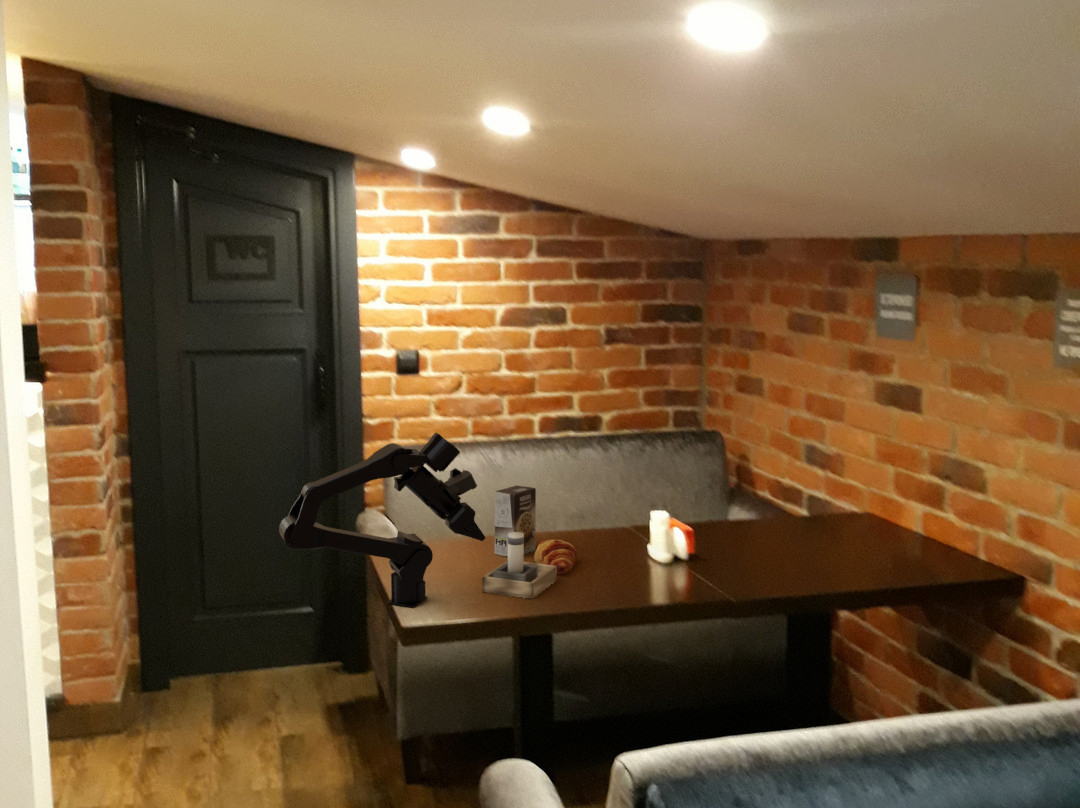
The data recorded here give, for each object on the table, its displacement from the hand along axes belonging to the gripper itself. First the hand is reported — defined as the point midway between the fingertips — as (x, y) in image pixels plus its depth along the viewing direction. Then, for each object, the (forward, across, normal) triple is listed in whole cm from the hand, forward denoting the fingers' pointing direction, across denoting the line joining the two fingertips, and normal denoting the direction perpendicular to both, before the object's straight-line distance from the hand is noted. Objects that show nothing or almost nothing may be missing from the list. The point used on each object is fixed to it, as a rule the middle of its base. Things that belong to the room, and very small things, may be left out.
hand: (478, 533), depth 233 cm
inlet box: (+17, +2, +2) cm, 17 cm away
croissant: (+27, +15, -7) cm, 31 cm away
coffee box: (+22, +28, -2) cm, 36 cm away
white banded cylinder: (+15, 0, +3) cm, 15 cm away
